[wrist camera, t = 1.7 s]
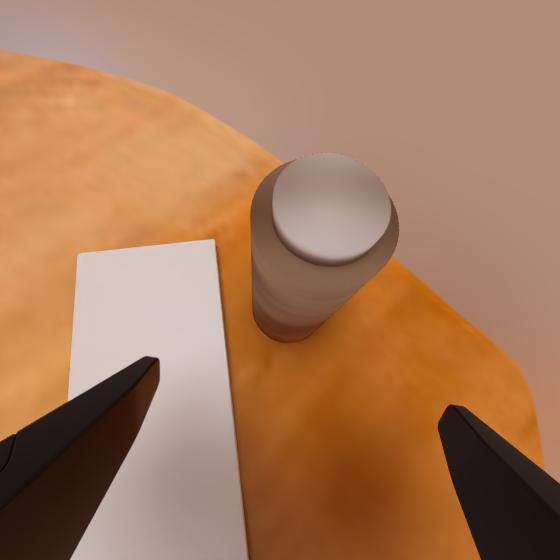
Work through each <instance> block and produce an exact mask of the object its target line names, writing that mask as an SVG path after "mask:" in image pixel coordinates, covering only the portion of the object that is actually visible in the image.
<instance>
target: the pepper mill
mask: <svg viewBox="0 0 560 560" xmlns="http://www.w3.org/2000/svg"><path fill="white" fill-rule="evenodd" d="M250 218H251V262H252V305H253V315H254V319H255V321H256V323H257V325H258V327H259V328H260V329H261V331H262V332H263V333H264V334H266V335H267V336H268V337H270V338H272V339H274V340H276V341H279V342H284V343H293V342H298V341H301V340H303V339H305V338H307V337H308V336H310V335H311V334H312V333H313V332H314V331H315V330H317V329H318V328H319V327H320V326H321V325H322V324H323V323H324V322H325V321H326V320H327V319H328V318H329V317H331V316H332V315H333V314H334V313H335V312H336V311H337V310H338V309H339V308H340V307H341V306H342V305H344V304H345V303H346V302H347V301H348V300H349V299H350V298H351V297H352V296H353V295H354V294H355V293H356V292H358V291H359V290H360V289H361V288H362V287H363V286H364V285H365V284H366V283H367V282H368V281H369V280H371V279H372V278H373V277H374V276H375V275H376V274H377V273H378V272H379V271H380V270H381V269H382V268H383V267H384V266H385V265H386V264H387V263H388V261H389V260H390V259H391V257H392V255H393V253H394V251H395V248H396V245H397V242H398V236H399V223H398V216H397V213H396V209H395V207H394V204H393V202H392V200H391V198H390V197H389V195H388V192H387V190H386V188H385V186H384V184H383V183H382V181H381V180H380V179H379V177H378V176H377V175H376V174H375V173H374V172H373V171H372V170H371V169H369V168H368V167H367V166H365V165H364V164H362V163H360V162H359V161H357V160H355V159H353V158H350V157H347V156H344V155H339V154H335V153H316V154H310V155H307V156H304V157H301V158H299V159H297V160H293V161H290V162H288V163H285V164H283V165H281V166H279V167H278V168H276V169H275V170H273V171H272V172H271V173H270V174H269V175H268V176H266V177H265V179H264V180H263V181H262V182H261V184H260V185H259V187H258V189H257V190H256V192H255V195H254V197H253V201H252V205H251V214H250Z"/></svg>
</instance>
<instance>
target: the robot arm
mask: <svg viewBox="0 0 560 560" xmlns="http://www.w3.org/2000/svg"><path fill="white" fill-rule="evenodd" d="M159 382H160V360H159V358H157V357H151V356H144V357H142V358H140V359H139V360H137V361H135V362H134V363H132V364H130V365H129V366H127V367H125V368H124V369H122V370H120V371H119V372H117V373H115V374H114V375H112V376H110V377H108V378H107V379H105V380H103V381H102V382H100V383H98V384H97V385H95V386H93V387H92V388H90V389H88V390H87V391H85V392H83V393H82V394H80V395H78V396H77V397H75V398H73V399H71V400H70V401H68V402H66V403H65V404H63V405H61V406H60V407H58V408H56V409H55V410H53V411H51V412H50V413H48V414H46V415H45V416H43V417H41V418H40V419H38V420H36V421H34V422H33V423H31V424H29V425H28V426H26V427H24V428H23V429H21V430H19V431H18V432H17V434H12V435H11V436H9V437H7V438H6V439H4V440H2V441H1V442H0V560H70V559H71V557H72V555H73V553H74V552H75V550H76V548H77V546H78V544H79V542H80V541H81V539H82V537H83V535H84V533H85V531H86V530H87V528H88V526H89V524H90V522H91V520H92V519H93V517H94V515H95V513H96V511H97V509H98V508H99V506H100V504H101V502H102V500H103V498H104V496H105V495H106V493H107V491H108V489H109V487H110V485H111V484H112V482H113V480H114V478H115V476H116V474H117V473H118V471H119V469H120V467H121V465H122V463H123V462H124V460H125V458H126V456H127V454H128V452H129V451H130V449H131V447H132V445H133V443H134V441H135V439H136V437H137V435H138V433H139V431H140V429H141V426H142V424H143V422H144V419H145V417H146V414H147V412H148V410H149V407H150V405H151V402H152V400H153V398H154V395H155V393H156V390H157V388H158V386H159ZM438 431H439V435H440V439H441V442H442V446H443V450H444V453H445V457H446V461H447V464H448V468H449V472H450V475H451V479H452V482H453V485H454V488H455V491H456V494H457V496H458V499H459V502H460V504H461V507H462V510H463V512H464V515H465V518H466V520H467V523H468V526H469V529H470V531H471V534H472V537H473V539H474V542H475V545H476V547H477V550H478V553H479V555H480V558H481V560H560V484H559V483H558V482H557V481H556V480H554V479H553V478H552V477H551V476H549V475H548V474H547V473H546V472H545V471H543V470H542V469H541V468H540V467H538V466H537V465H536V464H535V463H533V462H532V461H531V460H530V459H528V458H527V457H526V456H525V455H523V454H522V453H521V452H520V451H519V450H517V449H516V448H515V447H514V446H512V445H511V444H510V443H509V442H507V441H506V440H505V439H504V438H502V437H501V436H500V435H499V434H497V433H496V432H495V431H494V430H493V429H491V428H490V427H489V426H488V425H486V424H485V423H484V422H483V421H481V420H480V419H479V418H478V417H476V416H475V415H474V414H473V413H471V412H470V411H469V410H468V409H466V408H465V407H463V406H459V405H452V404H451V405H449V406H447V408H446V410H445V411H444V413H443V415H442V417H441V418H440V420H439V423H438Z"/></svg>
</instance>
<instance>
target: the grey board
mask: <svg viewBox="0 0 560 560" xmlns="http://www.w3.org/2000/svg"><path fill="white" fill-rule="evenodd" d="M144 356H151V357H157V358H159V360H160V382H159V386H158V388H157V390H156V393H155V395H154V398H153V400H152V402H151V405H150V407H149V410H148V412H147V414H146V417H145V419H144V422H143V424H142V426H141V429H140V431H139V433H138V435H137V437H136V439H135V441H134V443H133V445H132V447H131V449H130V451H129V452H128V454H127V456H126V458H125V460H124V462H123V463H122V465H121V467H120V469H119V471H118V473H117V474H116V476H115V478H114V480H113V482H112V484H111V485H110V487H109V489H108V491H107V493H106V495H105V496H104V498H103V500H102V502H101V504H100V506H99V508H98V509H97V511H96V513H95V515H94V517H93V519H92V520H91V522H90V524H89V526H88V528H87V530H86V531H85V533H84V535H83V537H82V539H81V541H80V542H79V544H78V546H77V548H76V550H75V552H74V553H73V555H72V557H71V559H70V560H249V556H248V547H247V537H246V528H245V518H244V509H243V499H242V489H241V480H240V470H239V461H238V451H237V442H236V432H235V422H234V413H233V403H232V394H231V384H230V375H229V365H228V355H227V346H226V336H225V327H224V317H223V308H222V298H221V288H220V279H219V269H218V260H217V250H216V244H215V240H214V239H210V240H201V241H191V242H182V243H173V244H164V245H154V246H145V247H136V248H126V249H117V250H108V251H98V252H89V253H80V254H78V260H77V274H76V289H75V304H74V318H73V333H72V347H71V362H70V377H69V391H68V401H70V400H71V399H73V398H75V397H77V396H78V395H80V394H82V393H83V392H85V391H87V390H88V389H90V388H92V387H93V386H95V385H97V384H98V383H100V382H102V381H103V380H105V379H107V378H108V377H110V376H112V375H114V374H115V373H117V372H119V371H120V370H122V369H124V368H125V367H127V366H129V365H130V364H132V363H134V362H135V361H137V360H139V359H140V358H142V357H144Z"/></svg>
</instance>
